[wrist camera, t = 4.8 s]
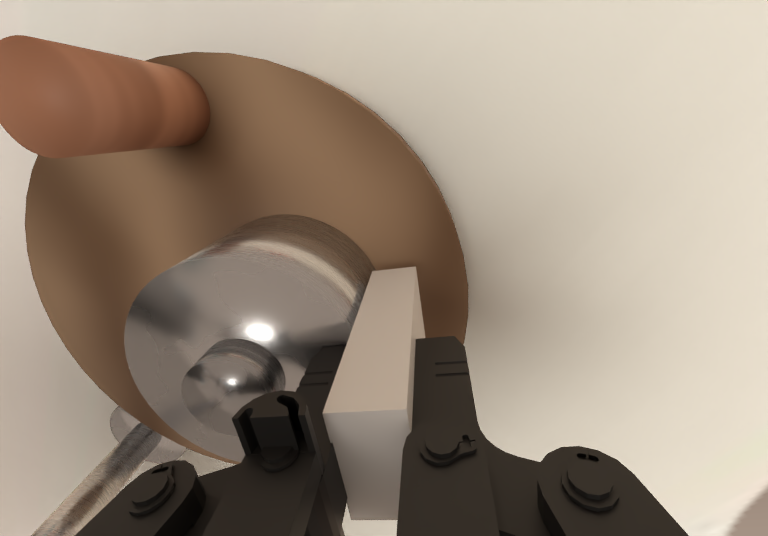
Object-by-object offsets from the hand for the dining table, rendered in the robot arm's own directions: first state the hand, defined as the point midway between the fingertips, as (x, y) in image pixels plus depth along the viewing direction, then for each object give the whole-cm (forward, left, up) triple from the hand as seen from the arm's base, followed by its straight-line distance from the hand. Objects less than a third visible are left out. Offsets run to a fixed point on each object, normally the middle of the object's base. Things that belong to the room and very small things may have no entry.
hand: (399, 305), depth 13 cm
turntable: (-7, 0, -4) cm, 7 cm away
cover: (-4, 0, -1) cm, 4 cm away
